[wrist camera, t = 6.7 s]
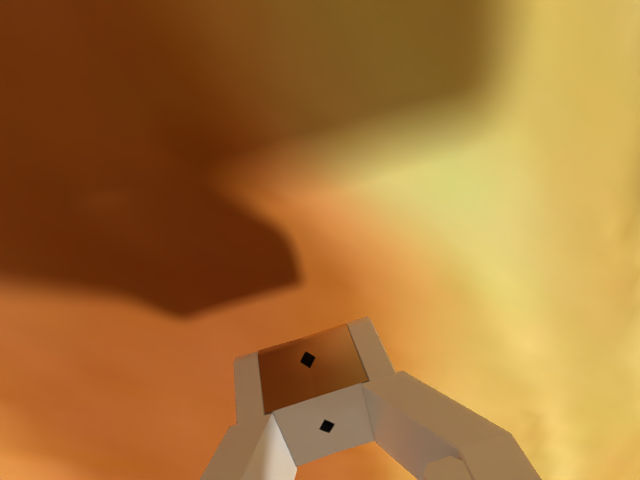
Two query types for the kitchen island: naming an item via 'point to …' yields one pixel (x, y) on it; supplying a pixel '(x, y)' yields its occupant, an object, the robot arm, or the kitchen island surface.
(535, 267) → the kitchen island surface
